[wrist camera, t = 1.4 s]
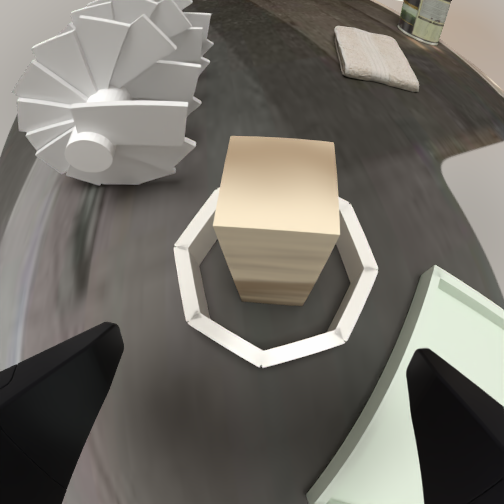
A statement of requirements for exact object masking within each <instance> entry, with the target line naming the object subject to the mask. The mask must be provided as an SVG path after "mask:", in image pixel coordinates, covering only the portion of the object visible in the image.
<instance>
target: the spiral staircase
mask: <svg viewBox="0 0 504 504" xmlns="http://www.w3.org/2000/svg"><path fill="white" fill-rule="evenodd" d="M192 2H193V1H192V0H96V1H94V2H91V3H89V4H87V5H86V6H87V7H86V8H82V9H79V10H75V11H72V12H71V13H70V14H71V19H72V22H73V24H72V23H71V22H70V23H69V24H68V25H67V26H66V27H65V28H64V29H63V30H62V31H61V32H60V33H59V34H58V35H57V36H56V37H53V38H51V39H48V40H46V41H44V42H42V43H39V44H37V45H35V46H33V48H32V49H31V50H32V52H33V54H34V56H35V58H36V60H37V61H36V60H34V59H33V60H32V62H31V63H30V64H29V66H28V67H27V69H26V70H25V72H24V73H23V75H22V76H21V78H20V79H19V81H18V82H17V84H16V85H15V87H14V89H13V90H12V93H14V94H15V95H17V96H19V99H18V100H17V111H18V124H19V131H23V132H27V134H26V137H27V138H28V140H29V141H30V143H31V144H32V145H33V146H34V148H35V149H36V150H37V152H36V156H37V157H38V158H40V159H41V160H42V161H44V162H45V163H46V164H48V165H49V166H50V167H52V168H53V169H55V170H56V171H57V172H59V173H60V174H63V173H65V172H67V174H66V176H69V177H72V178H76V179H79V180H82V181H86V182H89V183H92V184H96V185H99V186H100V185H101V183H102V184H126V185H140V184H141V183H144V182H147V181H150V180H154V179H157V178H160V177H164V176H167V175H170V174H174V173H176V168H175V167H174V166H175V165H176V164H178V163H179V162H180V161H181V160H182V159H183V158H184V157H185V156H186V155H187V154H188V153H189V152H190V151H191V150H193V149H194V148H195V147H196V142H195V141H193V140H191V139H189V138H186V137H185V129H186V119H187V116H188V115H189V114H190V113H192V112H193V111H194V110H195V109H196V108H197V107H199V106H200V105H201V101H200V100H199V99H197V98H195V97H194V92H195V90H196V84H197V80H198V77H199V75H200V74H201V73H202V72H203V70H204V69H205V68H206V67H207V65H208V64H209V63H210V60H208V59H206V58H203V57H202V56H203V55H204V54H205V53H206V52H207V50H208V49H209V48H210V47H211V46H212V45H213V42H211V41H210V40H208V39H207V34H208V28H209V23H210V17H211V14H208V13H189V12H182V11H181V10H182V9H184V8H185V7H187V6H188V5H189V4H191V3H192Z"/></svg>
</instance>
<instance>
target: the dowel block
mask: <svg viewBox="0 0 504 504" xmlns="http://www.w3.org/2000/svg"><path fill="white" fill-rule="evenodd" d="M213 228H214V230H215V233H216V236H217V238H218V241H219V243H220V246H221V249H222V251H223V254H224V257H225V259H226V262H227V264H228V267H229V269H230V272H231V275H232V277H233V280H234V282H235V285H236V287H237V290H238V292H239V295H240V297H241V300H242V301H243V302H254V303H266V304H279V305H293V306H303V304H304V303H305V301H306V299H307V297H308V295H309V294H310V292H311V290H312V288H313V286H314V284H315V283H316V281H317V279H318V277H319V275H320V273H321V271H322V269H323V268H324V266H325V264H326V262H327V260H328V258H329V256H330V254H331V252H332V250H333V248H334V246H335V244H336V242H337V240H338V238H339V236H340V219H339V200H338V185H337V172H336V160H335V150H334V142H325V141H315V140H304V139H291V138H275V137H251V136H231V137H230V142H229V146H228V151H227V156H226V161H225V165H224V170H223V175H222V180H221V185H220V190H219V196H218V201H217V206H216V211H215V217H214V222H213Z"/></svg>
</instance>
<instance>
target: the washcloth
mask: <svg viewBox="0 0 504 504" xmlns="http://www.w3.org/2000/svg"><path fill="white" fill-rule="evenodd" d="M334 31H335V35H336V36H335V44H336V49H337V53H338V57H339V61H340V66H341V71H342V74H343V75H344V76H347V77H350V78H356V79H360V80H365V81H374V82H378V83H382V84H386V85H388V86H392V87H396V88H401V89H404V90H408V91H412V92H416V91H417V92H418V91H419V84H418V83H419V82H418V80H417V78H416V76H415V74H414V72H413V71H412V69H411V67H410V65H409V63H408V61H407V59H406V58H405V55H404V54H403V52H402V51H401V49H400V47H399V46H398V44H397V42H396V40H395V39H393V38H392V37H389V36H386V35H379V34H373V33H369V32H366V31H363V30H360V29H357V28H350V27H343V26H336V27H335V29H334Z"/></svg>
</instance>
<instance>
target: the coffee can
mask: <svg viewBox="0 0 504 504" xmlns="http://www.w3.org/2000/svg"><path fill="white" fill-rule="evenodd" d="M451 1H452V0H404V2H403V6H402V11H401V15H400V19H399V23H398V28H399V30H401V31H402V32H403V33H405V34H406V35H408V36H410V37H412V38H414V39H416V40H418V41H420V42H423V43H426V44H429V45H438V41H439V38H440V35H441V32H442V29H443V26H444V22H445V20H446V16H447V13H448V10H449V6H450V3H451Z"/></svg>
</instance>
